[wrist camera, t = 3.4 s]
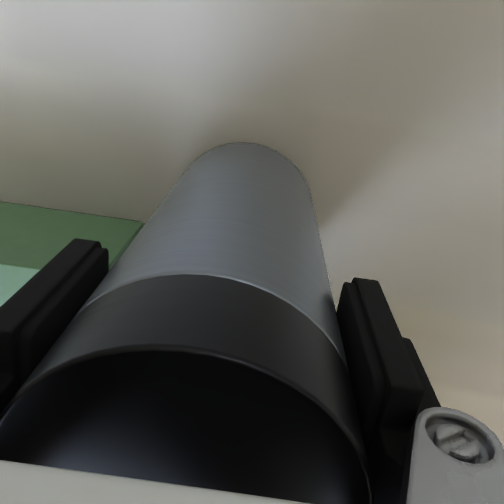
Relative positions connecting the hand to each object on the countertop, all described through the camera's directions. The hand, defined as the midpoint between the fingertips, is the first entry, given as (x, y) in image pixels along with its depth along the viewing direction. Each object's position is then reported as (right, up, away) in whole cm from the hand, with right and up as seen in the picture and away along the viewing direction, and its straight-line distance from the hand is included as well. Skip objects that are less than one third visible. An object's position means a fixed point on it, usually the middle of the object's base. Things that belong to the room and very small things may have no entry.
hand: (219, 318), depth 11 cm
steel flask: (0, +3, +7) cm, 8 cm away
